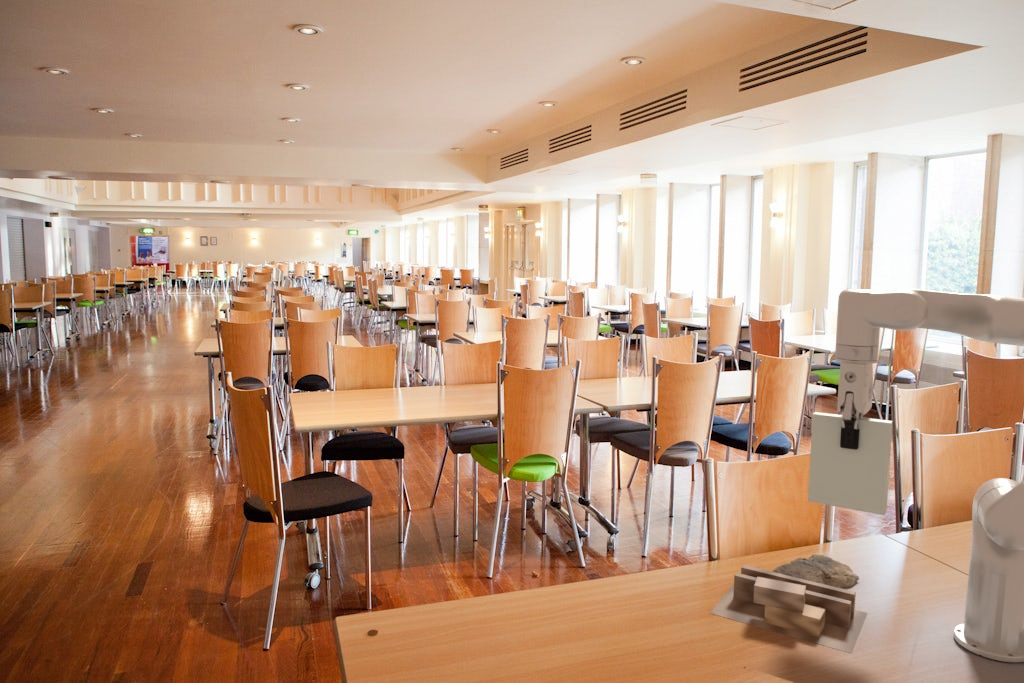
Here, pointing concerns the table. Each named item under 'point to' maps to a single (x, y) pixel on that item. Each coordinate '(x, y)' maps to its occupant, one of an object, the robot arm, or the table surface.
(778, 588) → the offcut upper
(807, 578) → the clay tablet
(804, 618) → the offcut lower
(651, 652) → the table surface
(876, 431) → the panel
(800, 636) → the rack
